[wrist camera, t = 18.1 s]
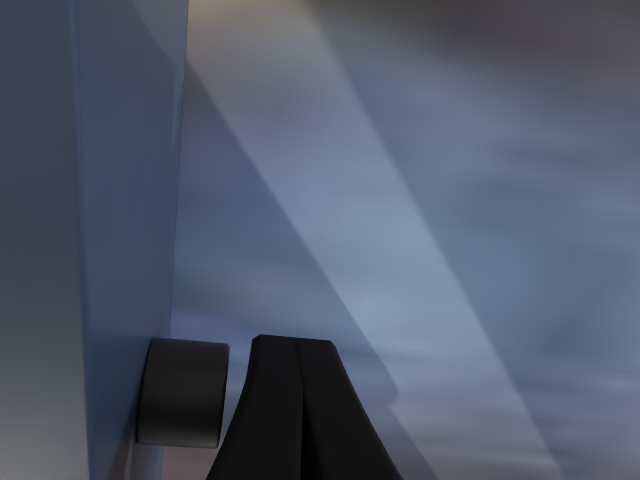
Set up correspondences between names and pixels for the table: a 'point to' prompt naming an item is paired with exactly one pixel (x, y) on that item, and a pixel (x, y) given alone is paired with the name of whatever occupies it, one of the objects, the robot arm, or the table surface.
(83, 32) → the drawer
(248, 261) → the table surface
